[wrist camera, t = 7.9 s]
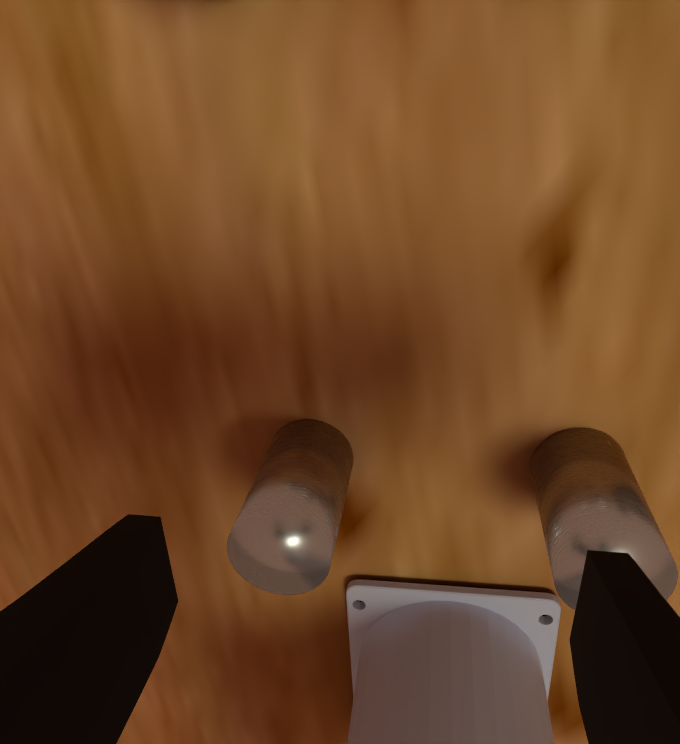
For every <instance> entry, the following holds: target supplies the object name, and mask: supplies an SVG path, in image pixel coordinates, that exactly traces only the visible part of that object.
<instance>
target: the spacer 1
mask: <svg viewBox="0 0 680 744" xmlns="http://www.w3.org/2000/svg"><path fill="white" fill-rule="evenodd" d="M353 459H354V457H353V451H352V448H351V446H350V443H349V442H348V440H347V439H346V438H345V436H344V435H343V434H342V433H341V432H340V431H338V430H337V429H336V428H334V427H333V426H331V425H329V424H327V423H324V422H321V421H317V420H309V419H308V420H297V421H294V422H291V423H289V424H287V425H285V426H283V427H282V428H281V429H280V430H279V431H278V432H277V433H276V435H275V436H274V438H273V440H272V443H271V445H270V447H269V449H268V451H267V454H266V456H265V458H264V460H263V462H262V465H261V467H260V469H259V471H258V473H257V476H256V478H255V480H254V482H253V484H252V487H251V489H250V491H249V493H248V495H247V498H246V500H245V502H244V504H243V506H242V509H241V511H240V513H239V515H238V517H237V520H236V522H235V524H234V526H233V528H232V531H231V533H230V535H229V537H228V541H227V553H228V556H229V559H230V562H231V564H232V565H233V567H234V569H235V570H236V571H237V572H238V573H239V574H240V575H241V577H243V578H244V579H245V580H246V581H248V582H249V583H250V584H252V585H254V586H256V587H257V588H260V589H262V590H264V591H268V592H271V593H275V594H282V595H294V594H301V593H305V592H308V591H310V590H312V589H314V588H316V587H317V586H318V585H320V584H321V583H322V582H323V581H324V579H325V578H326V576H327V575H328V572H329V569H330V565H331V560H332V556H333V551H334V547H335V542H336V538H337V534H338V529H339V525H340V520H341V516H342V511H343V507H344V502H345V498H346V494H347V489H348V485H349V480H350V476H351V471H352V467H353Z"/></svg>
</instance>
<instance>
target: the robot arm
mask: <svg viewBox="0 0 680 744" xmlns="http://www.w3.org/2000/svg"><path fill="white" fill-rule="evenodd" d="M356 600H360V601H363V602H358V601H356ZM346 601H347V615H348V629H349V644H350V658H351V672H352V686H353V705H352V712H351V719H350V726H349V734H348V741H347V744H554V738H553V732H552V726H551V720H550V714H549V708H548V695H549V688H550V682H551V675H552V668H553V661H554V654H555V647H556V641H557V634H558V627H559V620H560V613H561V607H560V602H559V599H558V598H557V597H556V596H555V595H553V594H550V593H542V592H528V591H514V590H500V589H486V588H472V587H458V586H444V585H430V584H417V583H403V582H389V581H375V580H361V579H358V580H353V581H350V582H349V584H348V586H347V591H346ZM177 603H178V598H177V593H176V588H175V583H174V579H173V574H172V569H171V565H170V560H169V555H168V551H167V546H166V541H165V536H164V532H163V527H162V522H161V518H160V517H155V516H142V515H129V514H128V515H127V516H125V517H124V518H123V519H121V520H120V521H119V522H117V523H116V524H115V525H113V526H112V527H111V528H109V529H108V530H107V531H105V532H104V533H103V534H101V535H100V536H99V537H98V538H96V539H95V540H94V541H93V542H91V543H90V544H89V545H87V546H86V547H85V548H84V549H82V550H81V551H80V552H78V553H77V554H76V555H75V556H73V557H72V558H71V559H70V560H68V561H67V562H66V563H64V564H63V565H62V566H60V567H59V568H58V569H57V570H55V571H54V572H53V573H51V574H50V575H49V576H47V577H46V578H45V579H44V580H42V581H41V582H40V583H38V584H37V585H36V586H34V587H33V588H32V589H30V590H29V591H28V592H27V593H25V594H24V595H23V596H21V597H20V598H19V599H17V600H16V601H14V602H13V603H12V604H10V605H9V606H7V607H6V608H5V609H3V610H2V611H0V744H116V743H117V741H118V739H119V737H120V735H121V733H122V731H123V729H124V727H125V725H126V723H127V721H128V719H129V717H130V715H131V713H132V711H133V709H134V707H135V705H136V703H137V701H138V699H139V697H140V695H141V693H142V691H143V688H144V686H145V684H146V682H147V680H148V678H149V676H150V674H151V672H152V670H153V668H154V666H155V664H156V661H157V659H158V657H159V655H160V652H161V649H162V646H163V644H164V641H165V638H166V635H167V633H168V630H169V627H170V624H171V621H172V618H173V615H174V612H175V609H176V606H177ZM542 615H548V616H542ZM570 646H571V653H572V660H573V668H574V675H575V682H576V688H577V695H578V701H579V707H580V711H581V715H582V719H583V723H584V727H585V731H586V735H587V739H588V742H589V744H680V617H679V616H678V615H677V613H676V612H675V611H674V610H673V608H672V607H671V606H670V605H669V603H668V602H667V601H666V600H665V598H664V597H663V596H662V595H661V593H660V592H659V591H658V590H657V588H656V587H655V586H654V584H653V583H652V582H651V581H650V579H649V578H648V577H647V576H646V574H645V573H644V572H643V570H642V569H641V568H640V567H639V565H638V564H637V563H636V562H635V560H634V559H633V558H632V557H631V556H630V555H629V554H628V553H620V552H607V551H594V550H587V554H586V559H585V565H584V570H583V575H582V580H581V585H580V590H579V595H578V600H577V605H576V610H575V615H574V620H573V625H572V630H571V635H570Z"/></svg>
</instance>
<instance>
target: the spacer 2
mask: <svg viewBox="0 0 680 744" xmlns="http://www.w3.org/2000/svg"><path fill="white" fill-rule="evenodd" d="M530 472H531V477H532V482H533V486H534V491H535V496H536V500H537V505H538V510H539V514H540V519H541V523H542V528H543V533H544V537H545V542H546V547H547V551H548V556H549V560H550V565H551V570H552V574H553V579H554V584H555V587H556V590H557V592H558V594H559V596H560V597H561V599H562V600H563V601H564V602H565V603H566V604H567V605H568V606H569V607H571V608H572V609H574V610H576V605H577V600H578V595H579V590H580V585H581V580H582V575H583V570H584V565H585V559H586V554H587V550H594V551H607V552H620V553H628V554H629V555H630V556H631V557H632V558H633V559H634V560H635V562H636V563H637V564H638V565H639V567H640V568H641V569H642V570H643V572H644V573H645V574H646V576H647V577H648V578H649V579H650V581H651V582H652V583H653V584H654V586H655V587H656V588H657V590H658V591H659V592H660V593H661V595H662V596H663V597H664V598H665V600H667V599H668V598H669V597H670V595H671V594H672V592H673V591H674V589H675V586H676V583H677V578H678V572H677V567H676V564H675V562H674V559H673V557H672V555H671V553H670V551H669V549H668V546H667V544H666V542H665V540H664V538H663V536H662V534H661V532H660V529H659V527H658V525H657V523H656V521H655V519H654V517H653V514H652V512H651V510H650V508H649V506H648V504H647V502H646V499H645V497H644V495H643V493H642V491H641V489H640V487H639V484H638V482H637V480H636V478H635V476H634V474H633V472H632V470H631V467H630V465H629V463H628V461H627V459H626V457H625V455H624V452H623V450H622V448H621V447H620V445H619V444H618V443H617V442H616V441H615V440H614V439H613V438H612V437H611V436H609V435H607V434H606V433H603V432H601V431H598V430H595V429H590V428H571V429H566V430H562V431H560V432H557V433H555V434H553V435H551V436H549V437H548V438H546V439H545V440H544V441H543V442H542V443H541V444H540V445H539V446H538V447H537V448H536V450H535V452H534V453H533V456H532V458H531V463H530Z"/></svg>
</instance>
